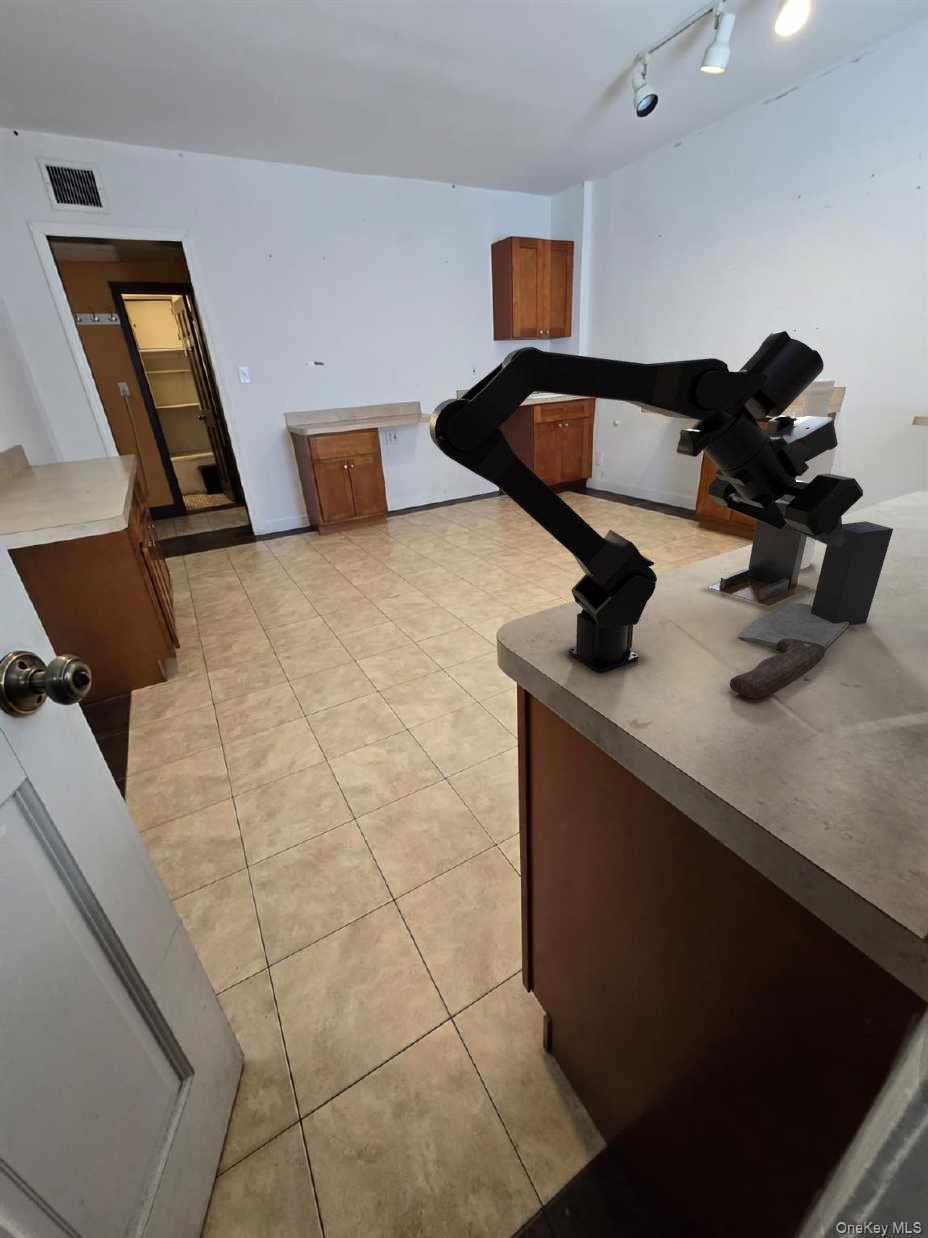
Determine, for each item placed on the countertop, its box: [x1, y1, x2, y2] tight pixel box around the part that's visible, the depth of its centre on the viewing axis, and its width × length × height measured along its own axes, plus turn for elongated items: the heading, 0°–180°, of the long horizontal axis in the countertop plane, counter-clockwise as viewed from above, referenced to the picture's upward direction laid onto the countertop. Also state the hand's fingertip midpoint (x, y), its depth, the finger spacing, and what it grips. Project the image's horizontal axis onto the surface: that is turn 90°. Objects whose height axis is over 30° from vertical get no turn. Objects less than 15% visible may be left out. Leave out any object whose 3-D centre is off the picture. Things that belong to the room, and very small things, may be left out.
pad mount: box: [708, 499, 811, 607], centre depth 79 cm, size 11×10×14 cm
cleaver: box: [729, 602, 849, 699], centre depth 65 cm, size 30×10×2 cm, turn 133°
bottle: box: [779, 378, 837, 570], centre depth 85 cm, size 8×8×30 cm
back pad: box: [811, 520, 894, 627], centre depth 67 cm, size 5×4×13 cm
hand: (809, 534), depth 64 cm, fingers open, 9 cm apart
